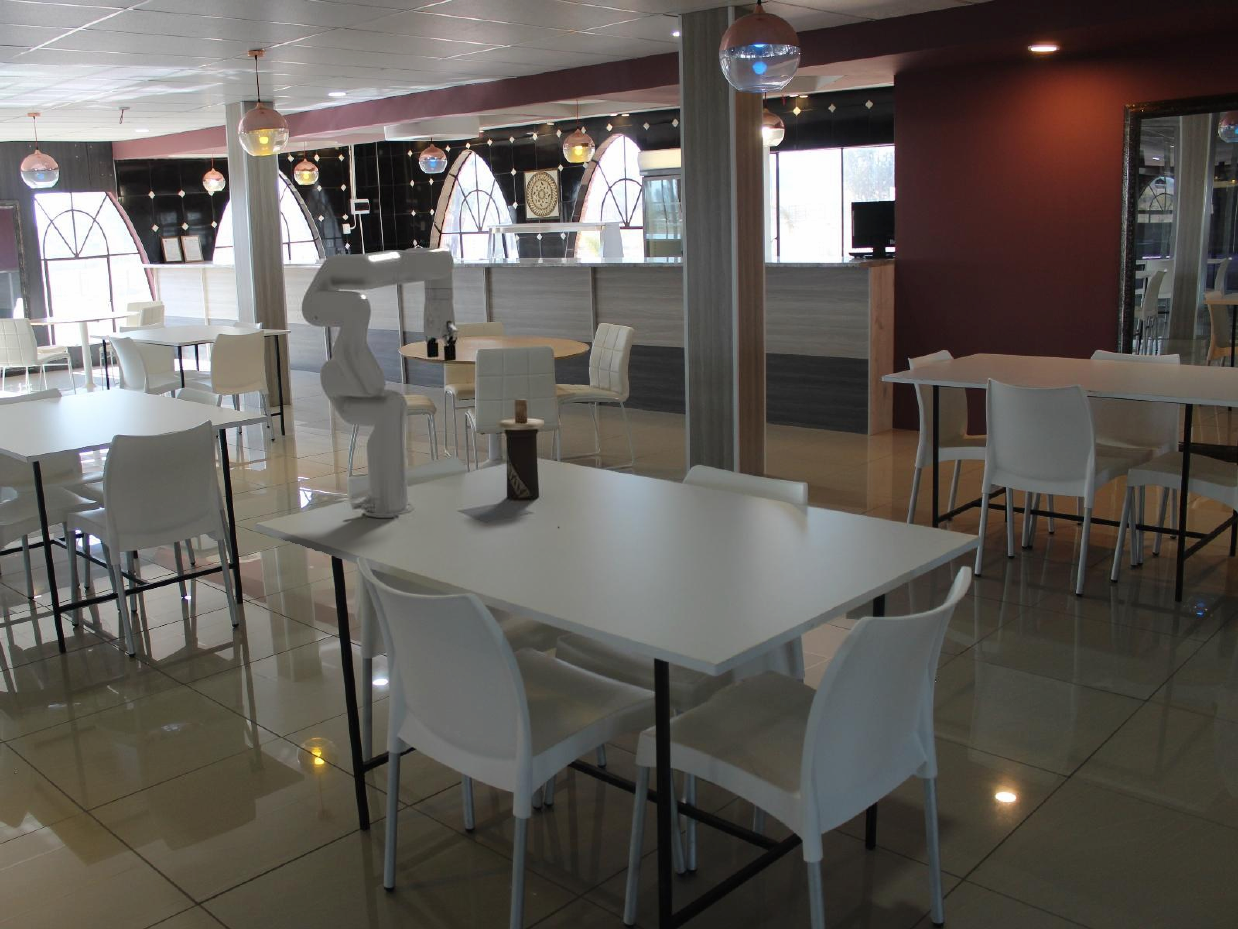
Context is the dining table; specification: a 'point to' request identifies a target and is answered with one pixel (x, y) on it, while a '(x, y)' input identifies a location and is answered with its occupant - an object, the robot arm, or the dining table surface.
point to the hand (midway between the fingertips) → (441, 358)
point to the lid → (521, 418)
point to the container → (522, 465)
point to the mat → (495, 512)
